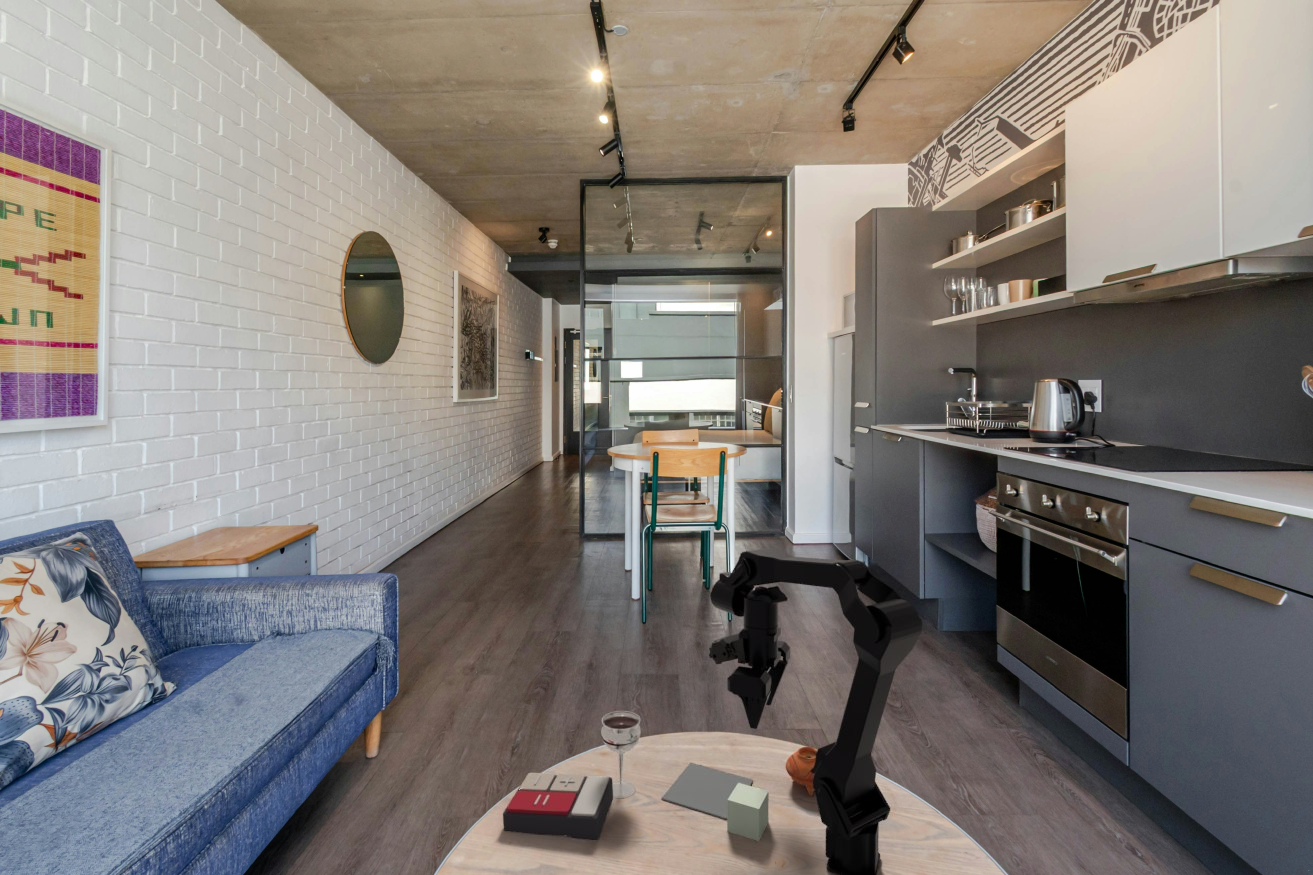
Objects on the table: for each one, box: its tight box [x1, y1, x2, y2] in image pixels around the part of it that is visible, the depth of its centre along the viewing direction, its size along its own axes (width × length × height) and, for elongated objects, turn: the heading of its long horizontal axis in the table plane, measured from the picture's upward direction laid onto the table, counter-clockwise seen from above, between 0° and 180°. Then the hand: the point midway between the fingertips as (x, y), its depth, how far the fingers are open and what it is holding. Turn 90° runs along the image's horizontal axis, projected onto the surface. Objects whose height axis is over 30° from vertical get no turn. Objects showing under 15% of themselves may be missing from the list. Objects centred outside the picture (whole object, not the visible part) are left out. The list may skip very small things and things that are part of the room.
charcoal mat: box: [661, 762, 754, 820], centre depth 105 cm, size 12×12×1 cm
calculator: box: [502, 772, 614, 842], centre depth 98 cm, size 11×4×15 cm
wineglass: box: [600, 710, 642, 799], centre depth 105 cm, size 7×7×12 cm
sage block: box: [726, 783, 770, 842], centre depth 95 cm, size 5×5×5 cm
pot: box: [785, 746, 818, 797], centre depth 106 cm, size 8×8×7 cm
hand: (760, 715), depth 103 cm, fingers open, 9 cm apart
